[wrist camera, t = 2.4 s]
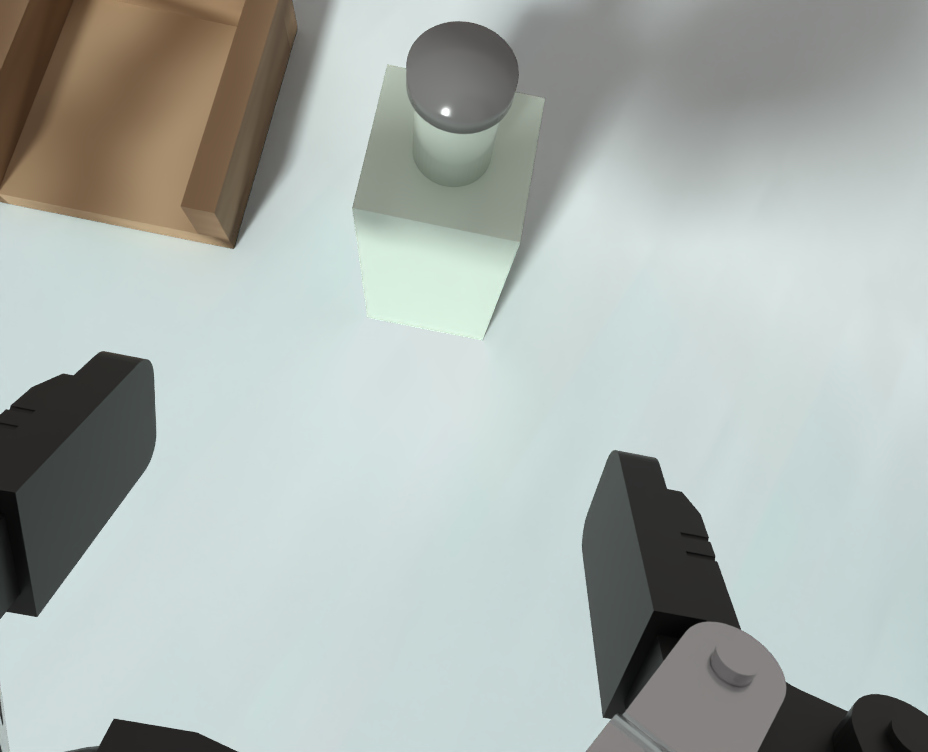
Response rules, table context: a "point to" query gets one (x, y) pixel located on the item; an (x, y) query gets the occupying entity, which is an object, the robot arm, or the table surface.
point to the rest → (140, 109)
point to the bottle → (446, 182)
